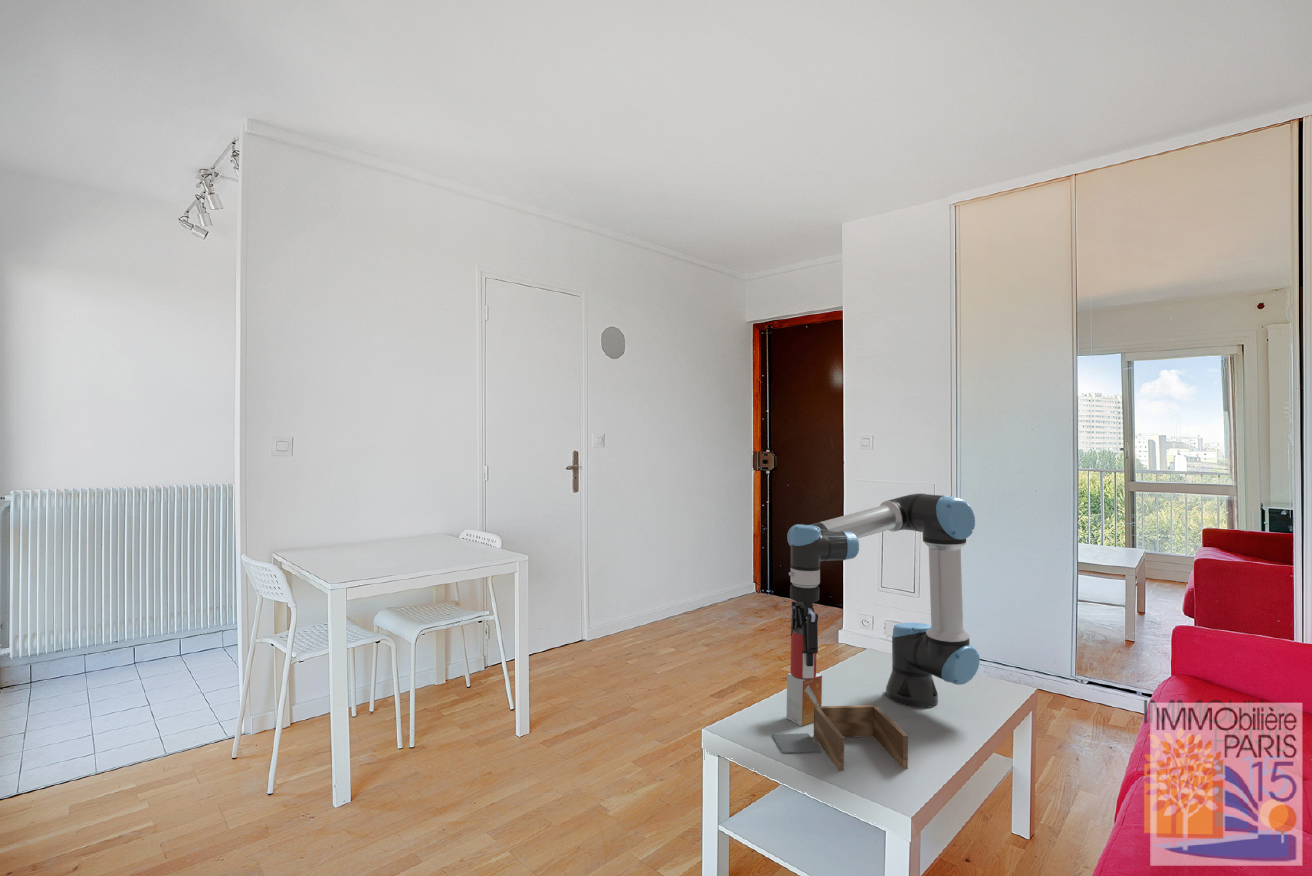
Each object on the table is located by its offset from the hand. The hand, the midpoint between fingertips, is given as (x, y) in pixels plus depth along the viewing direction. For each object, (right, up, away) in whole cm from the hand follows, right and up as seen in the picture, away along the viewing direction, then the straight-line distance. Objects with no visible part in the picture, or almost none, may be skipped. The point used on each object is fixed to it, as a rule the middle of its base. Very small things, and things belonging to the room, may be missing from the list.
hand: (803, 672), depth 166 cm
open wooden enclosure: (+14, -19, -3) cm, 24 cm away
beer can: (0, -1, 0) cm, 1 cm away
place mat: (-2, -19, +1) cm, 19 cm away
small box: (+4, -20, +16) cm, 26 cm away
